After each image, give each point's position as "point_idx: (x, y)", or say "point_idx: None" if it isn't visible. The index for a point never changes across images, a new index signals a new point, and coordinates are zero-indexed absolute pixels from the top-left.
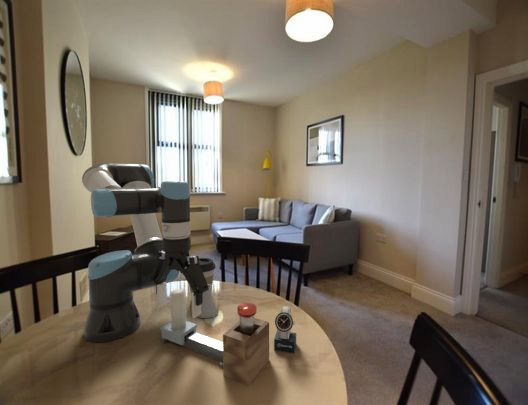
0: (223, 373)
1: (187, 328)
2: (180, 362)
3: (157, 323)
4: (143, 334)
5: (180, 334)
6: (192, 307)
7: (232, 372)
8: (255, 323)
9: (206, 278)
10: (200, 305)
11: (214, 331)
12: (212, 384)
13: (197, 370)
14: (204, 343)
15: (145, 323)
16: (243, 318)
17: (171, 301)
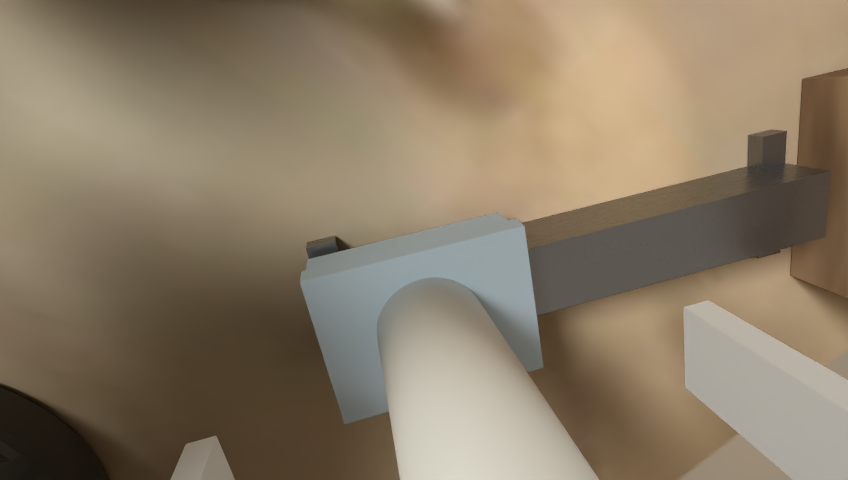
0: (797, 277)
1: (513, 302)
2: (575, 361)
3: (77, 287)
4: (171, 404)
5: (534, 367)
6: (772, 455)
7: None
8: None
9: None
10: (786, 354)
11: (512, 58)
12: (778, 332)
13: (677, 333)
14: (670, 273)
15: (10, 349)
16: None
17: None
